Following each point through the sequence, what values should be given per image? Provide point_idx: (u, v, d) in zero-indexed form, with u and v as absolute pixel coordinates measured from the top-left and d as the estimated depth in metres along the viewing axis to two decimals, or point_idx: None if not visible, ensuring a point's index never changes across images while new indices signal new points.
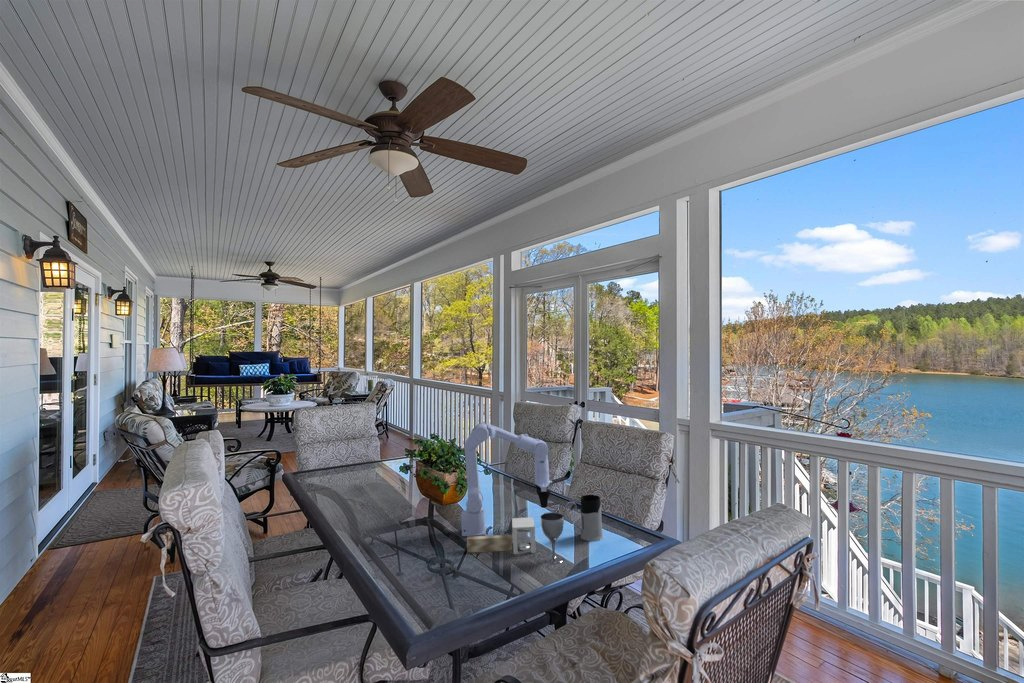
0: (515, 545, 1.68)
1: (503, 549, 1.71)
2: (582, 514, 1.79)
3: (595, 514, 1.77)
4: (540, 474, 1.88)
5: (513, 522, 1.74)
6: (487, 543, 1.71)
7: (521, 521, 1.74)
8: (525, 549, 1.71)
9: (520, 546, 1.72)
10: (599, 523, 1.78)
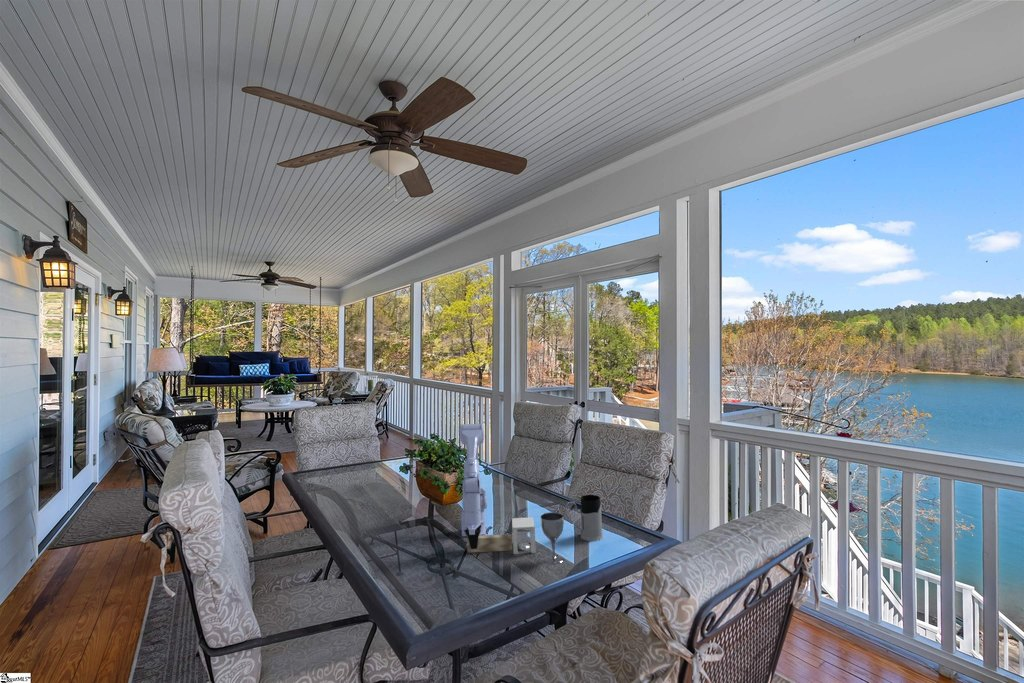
0: (515, 545, 1.68)
1: (503, 548, 1.71)
2: (582, 514, 1.79)
3: (595, 514, 1.77)
4: (470, 514, 1.70)
5: (513, 522, 1.74)
6: (487, 543, 1.71)
7: (521, 521, 1.74)
8: (527, 548, 1.71)
9: (521, 546, 1.72)
10: (599, 523, 1.78)
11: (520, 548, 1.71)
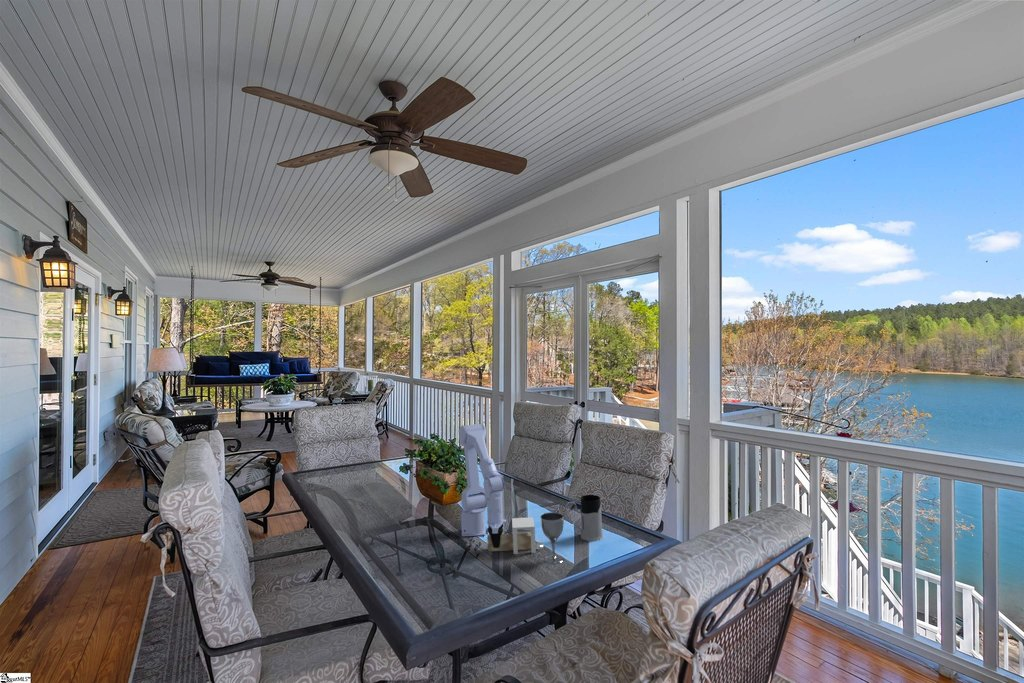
0: (515, 545, 1.68)
1: (524, 547, 1.72)
2: (582, 514, 1.79)
3: (595, 514, 1.77)
4: (492, 513, 1.70)
5: (513, 522, 1.74)
6: (507, 542, 1.72)
7: (521, 521, 1.74)
8: (543, 547, 1.72)
9: (536, 546, 1.72)
10: (599, 523, 1.78)
11: (537, 548, 1.71)
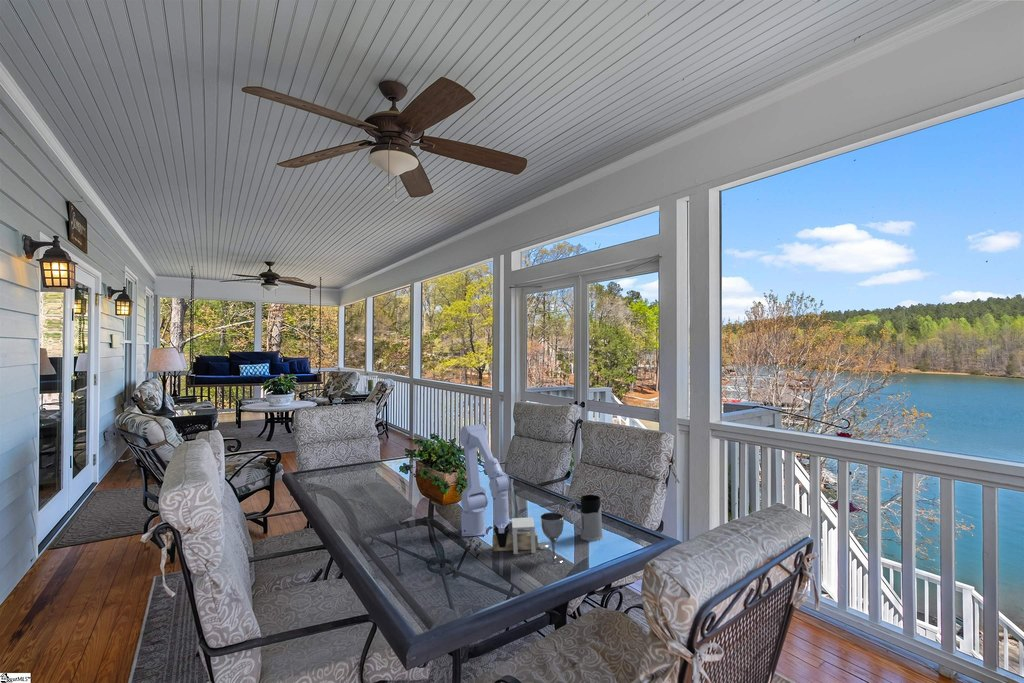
0: (515, 545, 1.68)
1: (529, 547, 1.72)
2: (582, 514, 1.79)
3: (595, 514, 1.77)
4: (498, 513, 1.70)
5: (513, 522, 1.74)
6: (512, 541, 1.72)
7: (521, 521, 1.74)
8: (548, 547, 1.72)
9: (542, 546, 1.72)
10: (599, 523, 1.78)
11: (542, 548, 1.71)
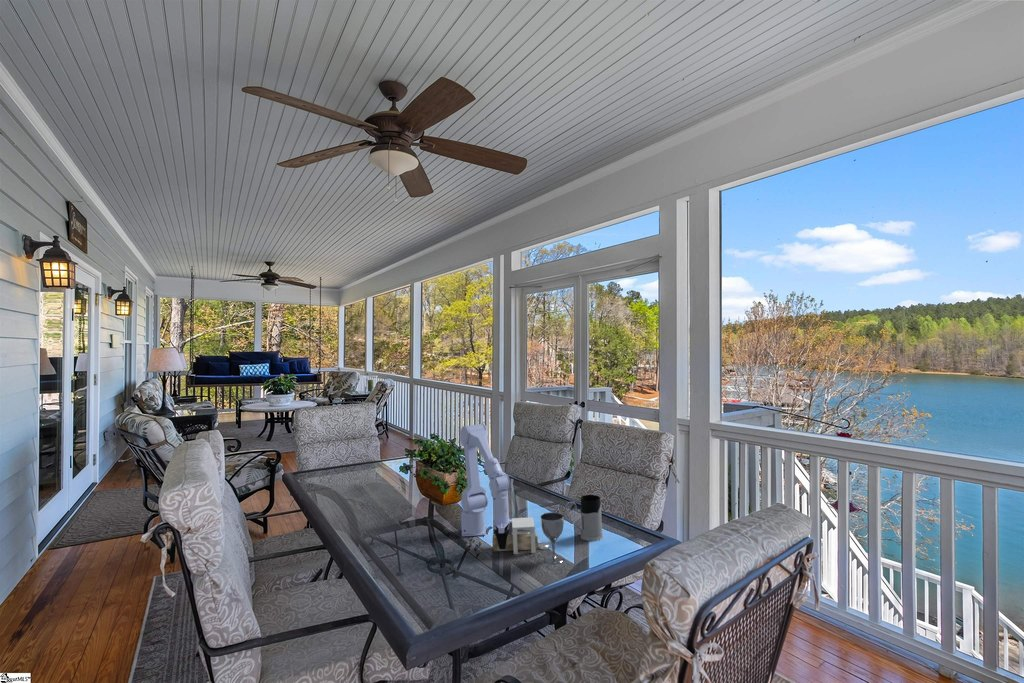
0: (515, 545, 1.68)
1: (529, 548, 1.72)
2: (582, 514, 1.79)
3: (595, 514, 1.77)
4: (498, 513, 1.70)
5: (513, 522, 1.74)
6: (512, 542, 1.72)
7: (521, 521, 1.74)
8: (548, 547, 1.72)
9: (542, 546, 1.72)
10: (599, 523, 1.78)
11: (542, 548, 1.71)
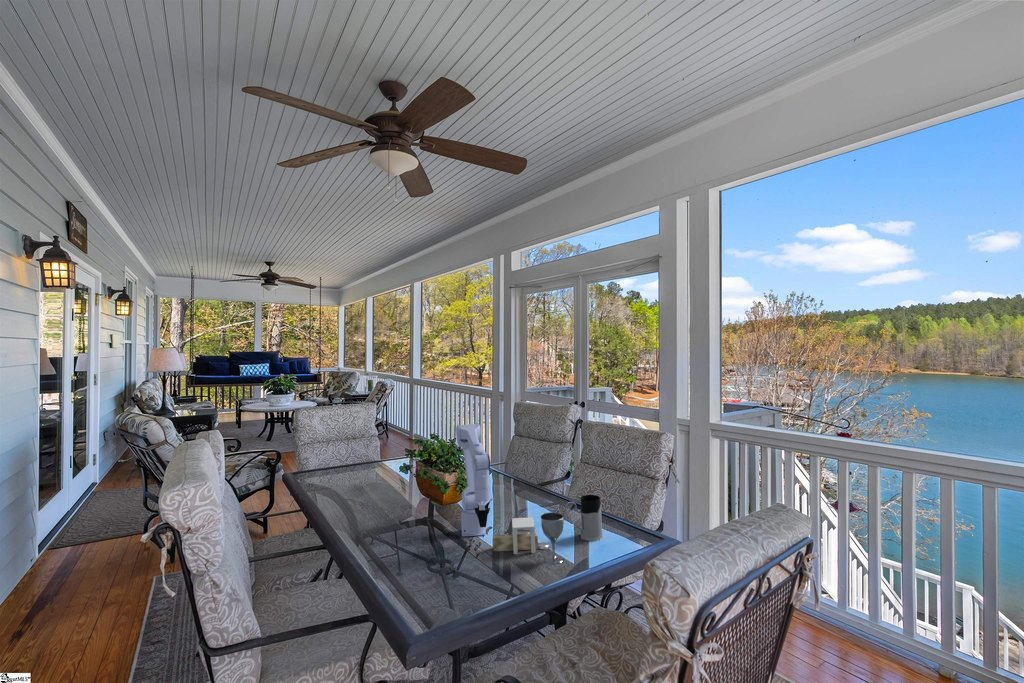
0: (515, 545, 1.68)
1: (529, 548, 1.72)
2: (582, 514, 1.79)
3: (595, 514, 1.77)
4: (479, 491, 1.73)
5: (513, 522, 1.74)
6: None
7: (521, 521, 1.74)
8: (548, 547, 1.72)
9: (542, 546, 1.72)
10: (599, 523, 1.78)
11: (542, 548, 1.71)
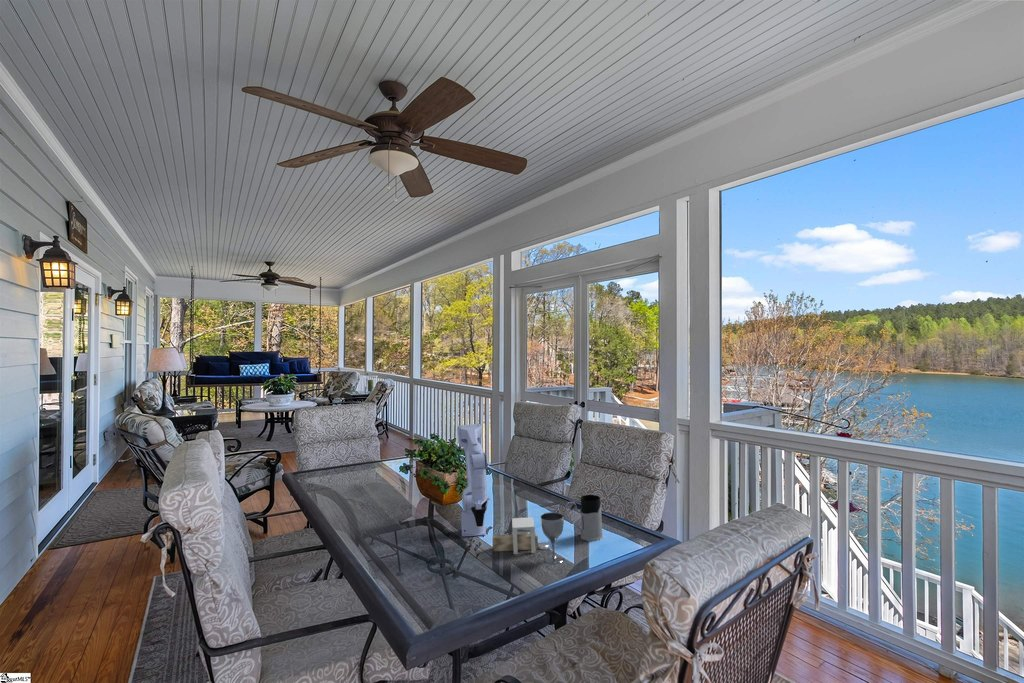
0: (515, 545, 1.68)
1: (529, 548, 1.72)
2: (582, 514, 1.79)
3: (595, 514, 1.77)
4: (476, 490, 1.73)
5: (513, 522, 1.74)
6: None
7: (521, 521, 1.74)
8: (548, 547, 1.72)
9: (542, 546, 1.72)
10: (599, 523, 1.78)
11: (542, 548, 1.71)
